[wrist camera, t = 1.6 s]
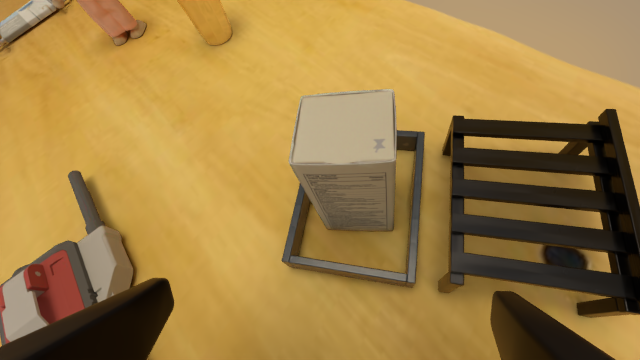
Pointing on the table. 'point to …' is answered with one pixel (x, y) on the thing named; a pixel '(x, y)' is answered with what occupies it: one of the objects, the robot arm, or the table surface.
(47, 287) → the walkie-talkie
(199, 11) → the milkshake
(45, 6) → the wall mount rack
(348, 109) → the beige box
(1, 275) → the table surface
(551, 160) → the top rack
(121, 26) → the grandmother figurine
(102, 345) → the robot arm
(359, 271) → the gray rectangular frame
